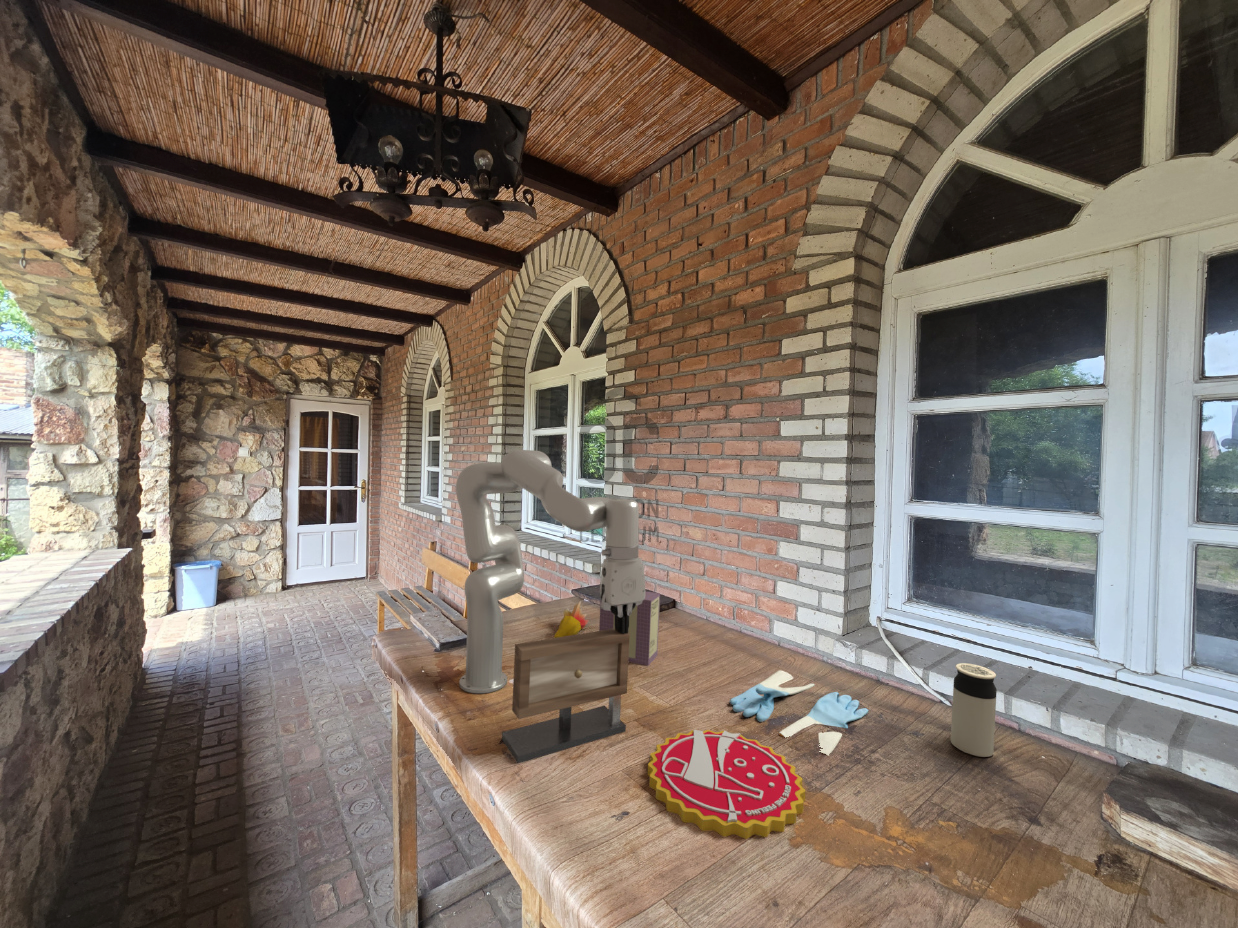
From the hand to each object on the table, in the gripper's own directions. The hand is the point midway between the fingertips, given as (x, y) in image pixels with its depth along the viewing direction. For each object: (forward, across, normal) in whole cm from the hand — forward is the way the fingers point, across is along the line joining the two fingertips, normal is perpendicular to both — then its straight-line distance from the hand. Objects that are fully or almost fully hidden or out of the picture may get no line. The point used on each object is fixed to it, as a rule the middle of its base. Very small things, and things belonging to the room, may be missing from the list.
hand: (621, 632), depth 116 cm
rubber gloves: (+25, +47, -12) cm, 54 cm away
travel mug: (+26, +67, -43) cm, 84 cm away
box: (+22, +25, +36) cm, 49 cm away
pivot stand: (+22, -12, +4) cm, 26 cm away
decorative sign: (+24, +9, -25) cm, 36 cm away
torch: (+21, +15, +60) cm, 65 cm away
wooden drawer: (+14, -12, +1) cm, 18 cm away
